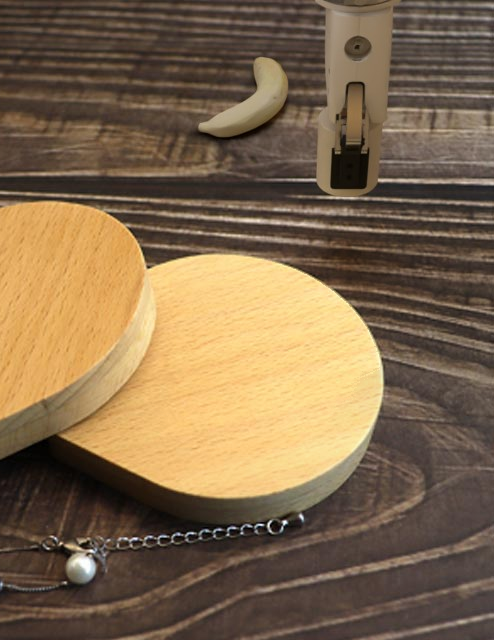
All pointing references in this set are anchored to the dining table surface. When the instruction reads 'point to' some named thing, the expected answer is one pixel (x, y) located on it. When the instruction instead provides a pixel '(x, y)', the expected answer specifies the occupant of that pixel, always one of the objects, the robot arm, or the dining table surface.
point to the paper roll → (328, 142)
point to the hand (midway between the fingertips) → (347, 165)
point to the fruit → (253, 102)
